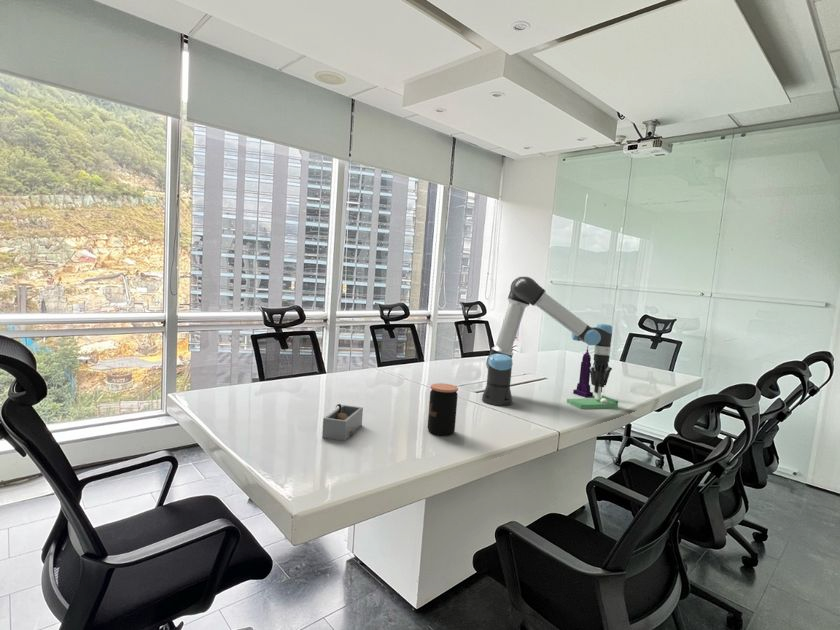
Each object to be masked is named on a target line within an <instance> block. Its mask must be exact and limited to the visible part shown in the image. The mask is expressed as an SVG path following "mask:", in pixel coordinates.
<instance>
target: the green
mask: <svg viewBox="0 0 840 630" xmlns="http://www.w3.org/2000/svg"><path fill="white" fill-rule="evenodd" d="M602 398H605V399H607V401H608V402H607V403H601V402H600V400H601V399H602ZM566 404H569V405H571V406H573V407H576V408H578V409H580V410H581V409H582V410H583V409H584V410H586V409H618V407H619V405H618V404H619V401H618V400H617V399H614V398H611V397H608V396H606V395H604V394H603V395H601V397H600V399H599V400H598V399H595V398H594V397H593V398H592V397H583V398H567V399H566Z"/></svg>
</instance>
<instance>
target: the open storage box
mask: <svg viewBox="0 0 840 630" xmlns="http://www.w3.org/2000/svg"><path fill="white" fill-rule="evenodd" d="M363 411H364V407H360V406H355V405H354V406H352V405H347V404H346V405H345V404H341V410H340V413H345V414H346V415H347V416H348V418H347V419H345V420H338V419H336V415H337V414H339V407H336V408H335V410H333V411H332V412H329V414H328V415H326V416H324V417H323V419H322V420H323V421H322V433H321V434H322V438H324V439H329V440H336V441H341V442H346V441H347V440H348V438H349V437H350V436H352V435H350V432H351V431H353V434H354V433H355V432H356V431H357V430H358V429H359V428H361V426H362V425H363V416H364V415H363Z"/></svg>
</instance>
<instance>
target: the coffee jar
mask: <svg viewBox="0 0 840 630" xmlns="http://www.w3.org/2000/svg"><path fill="white" fill-rule="evenodd" d="M430 389H431V390H430V392H429V403H428V404H429V405H428V416H427V430H428V432H429V433H430V434H432V435H434V436H439V437H449V436H452V435H453V434H454V433H455V430H456V420H457V419H456V418H457V406H458V397H459V396H458V391H459V387H458V386H457V385H453V384H451V383H450V384H449V383H440V382H439V383H433V384H431V385H430Z"/></svg>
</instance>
